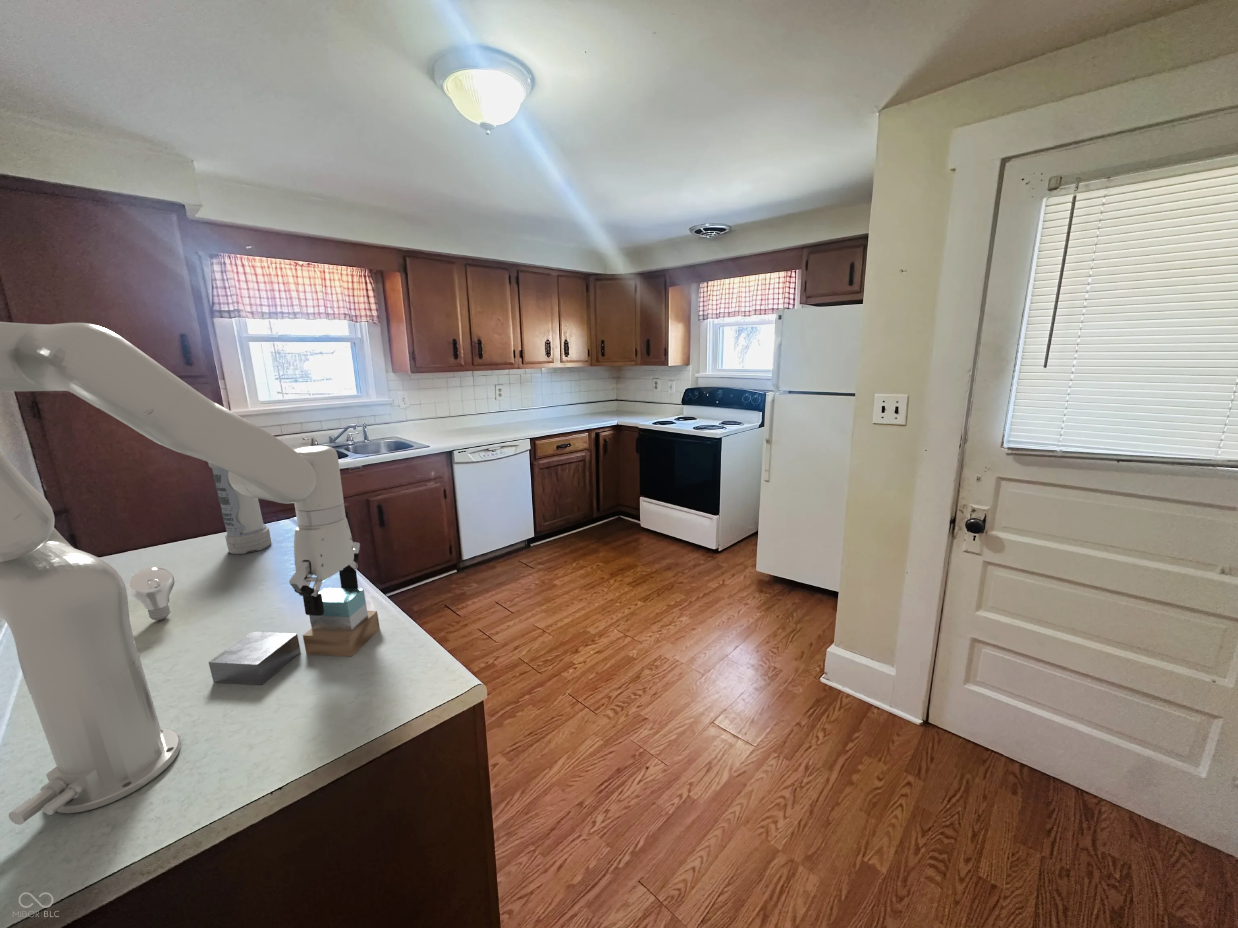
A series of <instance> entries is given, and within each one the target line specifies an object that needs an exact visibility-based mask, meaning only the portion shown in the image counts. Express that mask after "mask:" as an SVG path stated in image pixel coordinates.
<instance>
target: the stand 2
mask: <svg viewBox="0 0 1238 928" xmlns="http://www.w3.org/2000/svg"><path fill="white" fill-rule="evenodd" d="M367 613H368V617H367V618H366V619H365V620H364V621H363V622H362V623H361V624H360V625H359V626H358V627H357V628H355V629H354V630H353V631H352V632H350V631H326V630H312V627H311V628H310V629H309V630H307V631H306V632H305V633H304V634H303V635H302V640H303V644H304V648H305V654H306V655H312V656H313V655H314V656H330V657H331V656H332V657H333V656H334V657H336V656H337V657H350V658H351V657H353V656H354V655H356V653H357V652H358V651H359V650H360V649H361V648H362V647H363V646H364V645H366V643H367V642H369V640H370V639H371V638H372V637H373V636H374V635H375V634H376V633H377V632H378V631H380V629H381V628H380V627H381V626H380V620H379V615H378V610H367Z"/></svg>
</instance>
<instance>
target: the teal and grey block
mask: <svg viewBox="0 0 1238 928" xmlns="http://www.w3.org/2000/svg"><path fill="white" fill-rule="evenodd" d="M318 594H322V600H323V607H324V614H323V615H321V616H316V615H308V616H309V621H310V627H311V628H312V630H326V631H350V632H352V631H353V630H354V629H355V628H357V627H358V626H359V625H360V624H361V623H362V622H363V621H364V620H365V619H366V618H367V617H368V613H367V611H368V607H367V602H366V601H367V600H366V596H365V595H366V594H365V590H364V588H358V589H343V588H338V587H324V588H323V589H322V590H319V593H318Z"/></svg>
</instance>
